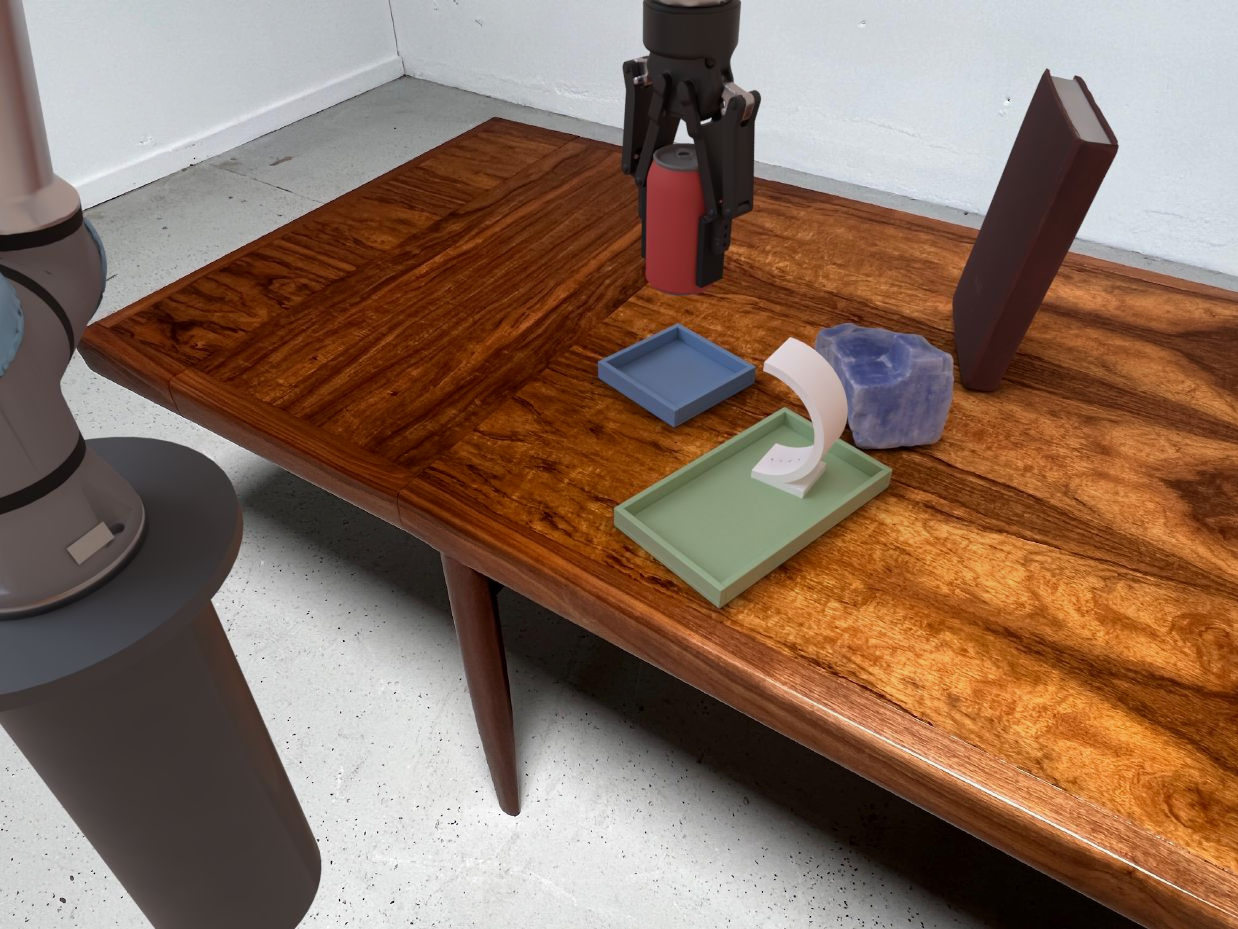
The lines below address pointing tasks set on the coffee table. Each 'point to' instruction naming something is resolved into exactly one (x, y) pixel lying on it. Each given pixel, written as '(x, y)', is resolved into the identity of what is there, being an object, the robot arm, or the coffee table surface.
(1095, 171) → the book
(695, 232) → the beer can
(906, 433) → the mineral
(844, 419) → the headphone stand
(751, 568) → the green tray
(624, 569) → the coffee table surface
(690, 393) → the blue tray
